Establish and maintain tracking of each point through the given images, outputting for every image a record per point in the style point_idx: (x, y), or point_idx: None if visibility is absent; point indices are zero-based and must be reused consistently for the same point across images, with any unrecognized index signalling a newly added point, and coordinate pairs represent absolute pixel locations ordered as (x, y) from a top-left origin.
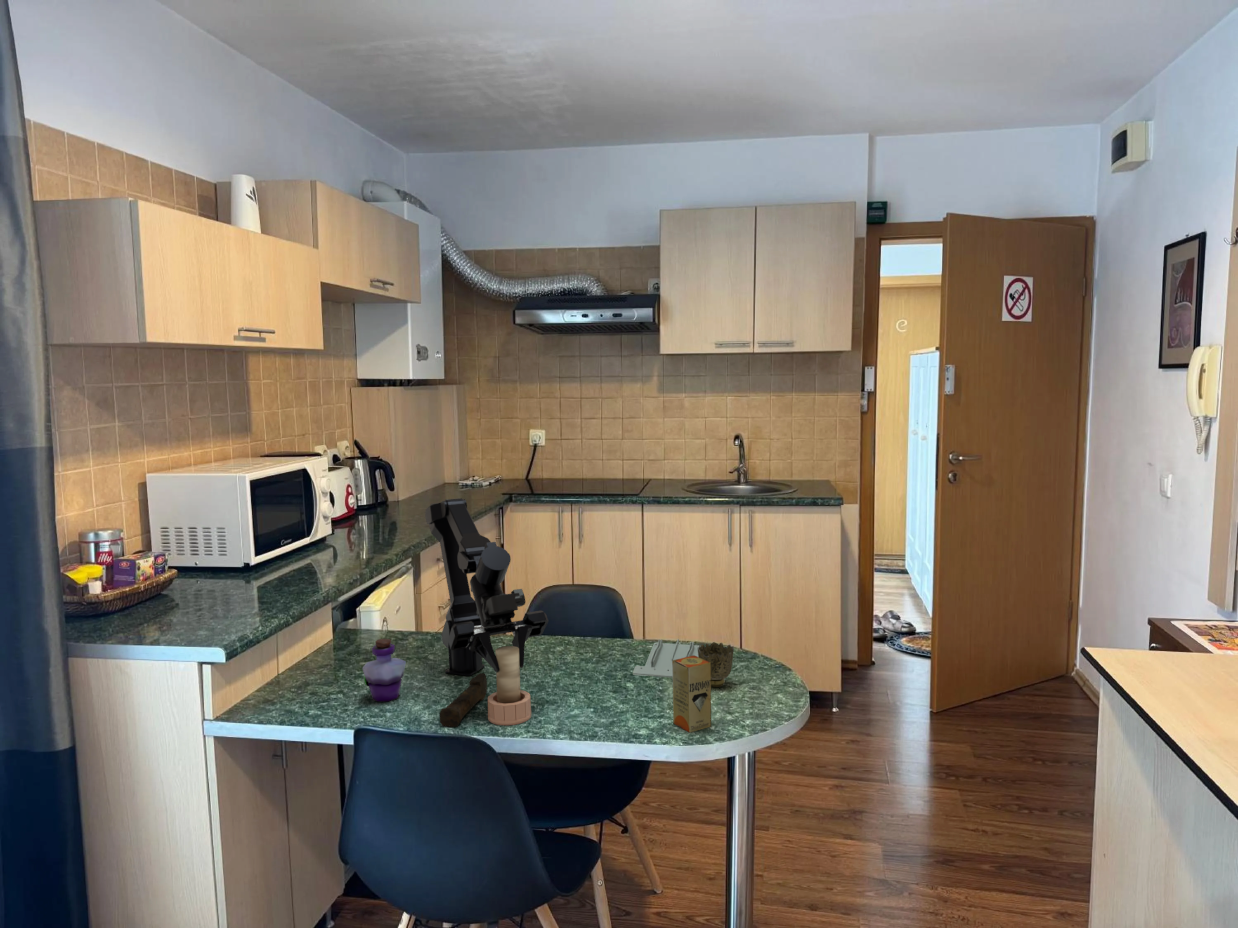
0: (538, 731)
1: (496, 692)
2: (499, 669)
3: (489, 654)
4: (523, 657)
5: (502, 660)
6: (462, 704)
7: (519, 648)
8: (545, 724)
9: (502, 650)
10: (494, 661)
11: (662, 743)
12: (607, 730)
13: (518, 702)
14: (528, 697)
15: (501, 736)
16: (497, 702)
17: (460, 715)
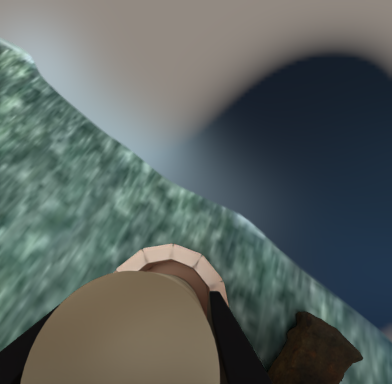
0: (153, 193)
1: None
2: (209, 291)
3: (269, 378)
4: (51, 312)
5: (192, 295)
6: (294, 370)
7: (16, 374)
8: (125, 216)
9: (166, 371)
10: (232, 327)
11: (24, 63)
12: (51, 134)
13: (159, 254)
14: None
15: (224, 210)
16: None
17: (296, 332)
